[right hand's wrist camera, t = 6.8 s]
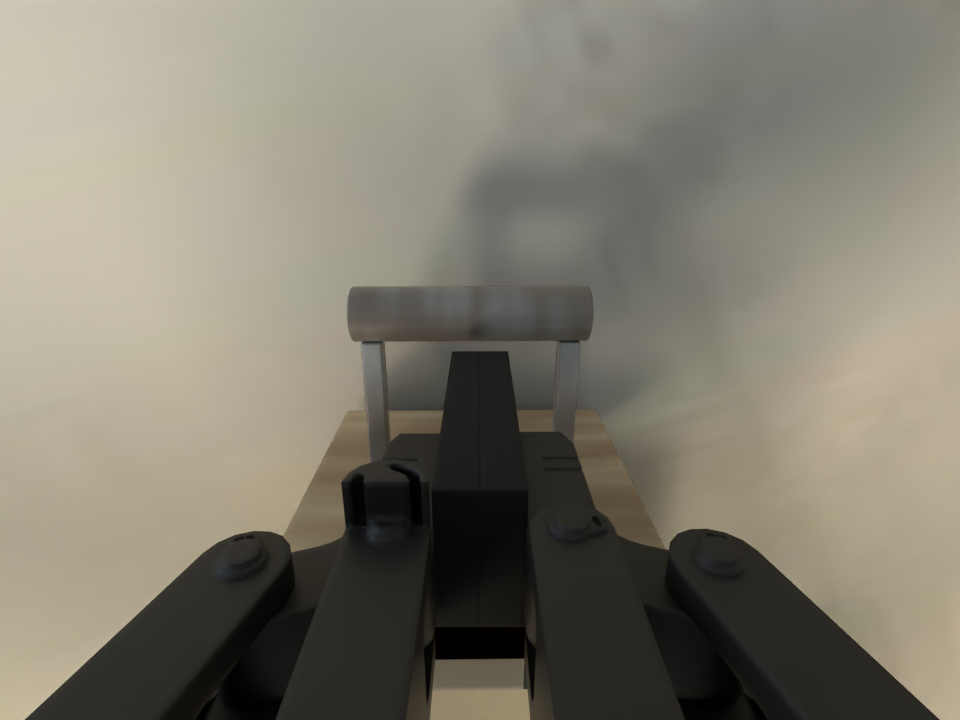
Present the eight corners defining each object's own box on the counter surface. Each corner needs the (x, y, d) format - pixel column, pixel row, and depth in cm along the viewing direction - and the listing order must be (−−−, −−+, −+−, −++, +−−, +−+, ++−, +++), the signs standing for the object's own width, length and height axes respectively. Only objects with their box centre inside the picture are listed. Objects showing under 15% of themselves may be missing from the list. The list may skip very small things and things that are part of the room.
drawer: (333, 262, 19) (226, 334, 11) (607, 261, 19) (709, 332, 11) (378, 743, 27) (337, 989, 19) (568, 740, 27) (609, 984, 19)
